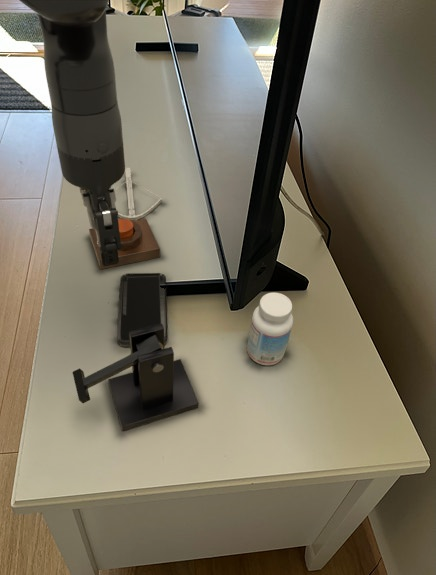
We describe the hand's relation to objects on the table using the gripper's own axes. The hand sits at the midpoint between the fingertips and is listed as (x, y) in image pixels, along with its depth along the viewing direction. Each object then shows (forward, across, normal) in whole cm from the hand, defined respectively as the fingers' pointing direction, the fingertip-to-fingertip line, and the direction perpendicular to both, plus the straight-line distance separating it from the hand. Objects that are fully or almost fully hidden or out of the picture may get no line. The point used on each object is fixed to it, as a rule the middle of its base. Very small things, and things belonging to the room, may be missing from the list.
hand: (103, 242), depth 69 cm
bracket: (+16, +16, +2) cm, 23 cm away
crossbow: (+17, -31, +10) cm, 37 cm away
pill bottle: (+17, +13, +21) cm, 30 cm away
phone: (+17, 0, +5) cm, 17 cm away
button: (+13, -16, +6) cm, 22 cm away
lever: (+8, +16, -2) cm, 18 cm away
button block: (+17, -16, +6) cm, 24 cm away
